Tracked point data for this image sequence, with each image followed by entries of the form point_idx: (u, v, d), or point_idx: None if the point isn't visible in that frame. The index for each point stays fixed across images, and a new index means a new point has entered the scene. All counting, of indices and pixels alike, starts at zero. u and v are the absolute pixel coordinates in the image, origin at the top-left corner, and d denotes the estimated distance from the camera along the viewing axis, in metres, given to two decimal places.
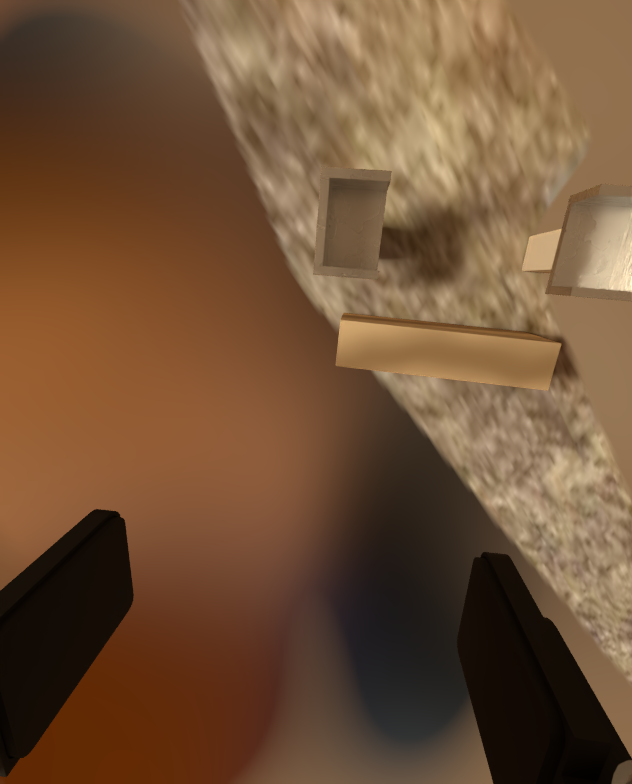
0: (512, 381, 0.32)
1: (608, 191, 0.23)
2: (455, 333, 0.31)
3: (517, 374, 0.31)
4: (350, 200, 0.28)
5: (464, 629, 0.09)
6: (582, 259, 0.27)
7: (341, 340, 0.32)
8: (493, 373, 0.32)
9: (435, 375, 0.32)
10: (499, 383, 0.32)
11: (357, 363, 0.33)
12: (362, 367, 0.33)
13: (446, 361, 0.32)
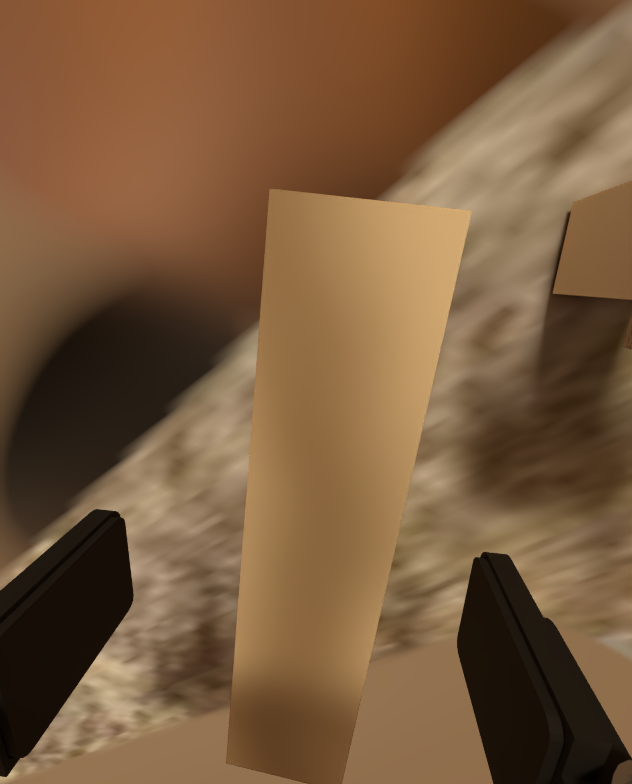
0: (242, 705, 0.12)
1: None
2: (380, 596, 0.10)
3: (260, 716, 0.12)
4: None
5: (464, 629, 0.09)
6: None
7: (378, 214, 0.07)
8: (261, 672, 0.12)
9: (249, 542, 0.10)
10: (235, 682, 0.12)
11: (280, 287, 0.08)
12: (267, 306, 0.08)
13: (293, 571, 0.10)
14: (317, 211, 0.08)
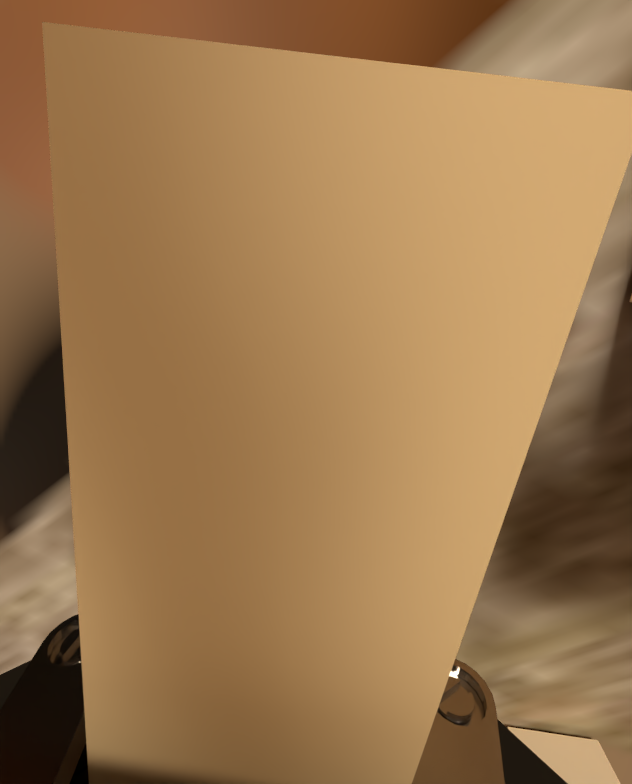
0: None
1: None
2: None
3: None
4: None
5: None
6: None
7: (364, 106, 0.02)
8: None
9: None
10: None
11: (106, 309, 0.03)
12: (77, 358, 0.03)
13: None
14: (184, 94, 0.03)
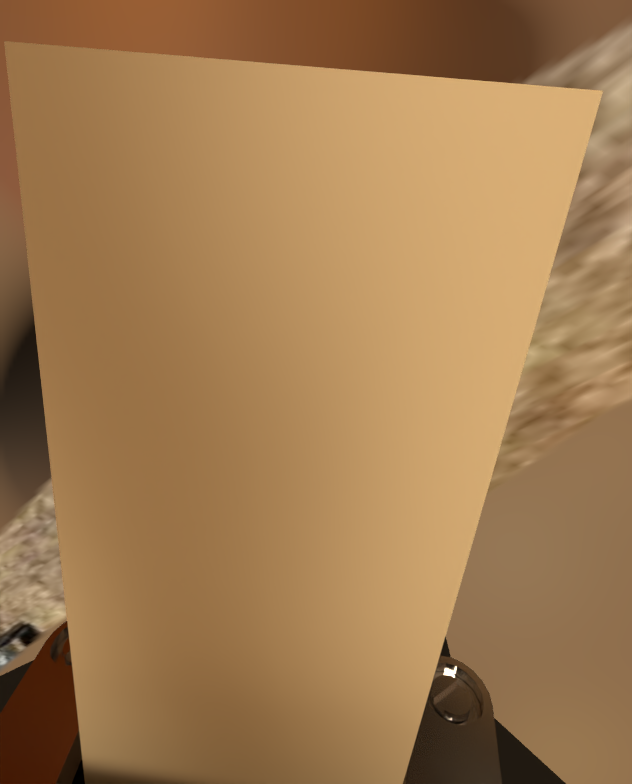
0: None
1: None
2: None
3: None
4: None
5: None
6: None
7: (318, 113, 0.03)
8: None
9: None
10: None
11: (77, 321, 0.03)
12: (55, 368, 0.03)
13: None
14: (145, 107, 0.03)
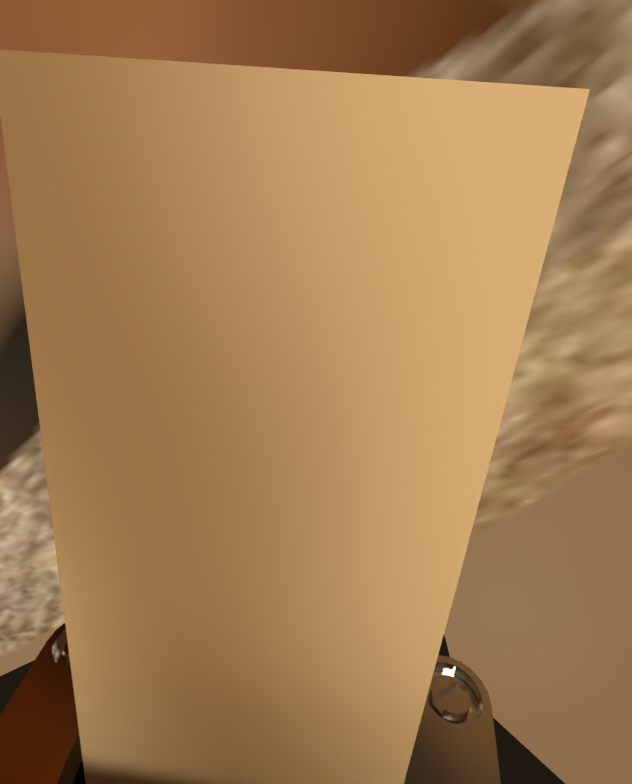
0: None
1: None
2: None
3: None
4: None
5: None
6: None
7: (307, 113, 0.03)
8: None
9: None
10: None
11: (71, 325, 0.03)
12: (48, 373, 0.03)
13: None
14: (133, 112, 0.03)
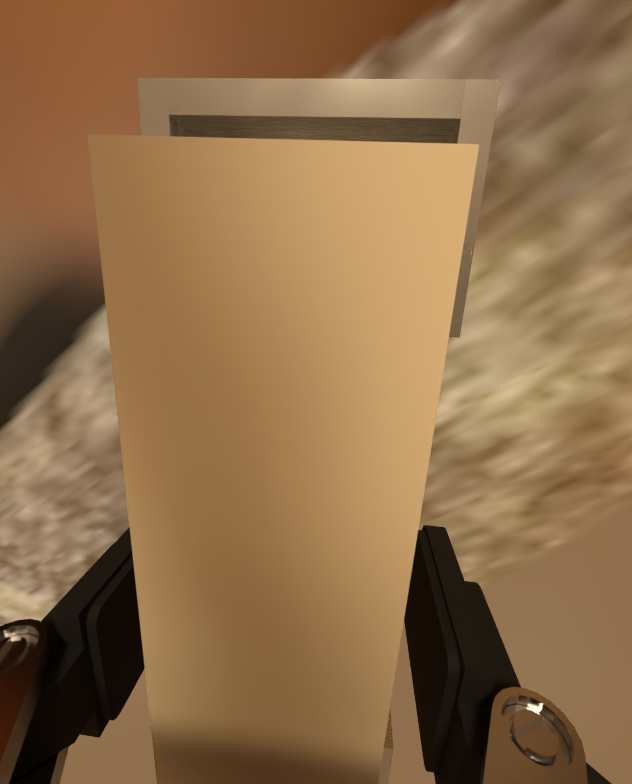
0: None
1: None
2: None
3: None
4: None
5: (408, 597, 0.10)
6: None
7: (298, 167, 0.04)
8: None
9: (158, 713, 0.06)
10: None
11: (138, 318, 0.04)
12: (122, 353, 0.05)
13: (233, 753, 0.07)
14: (182, 171, 0.04)
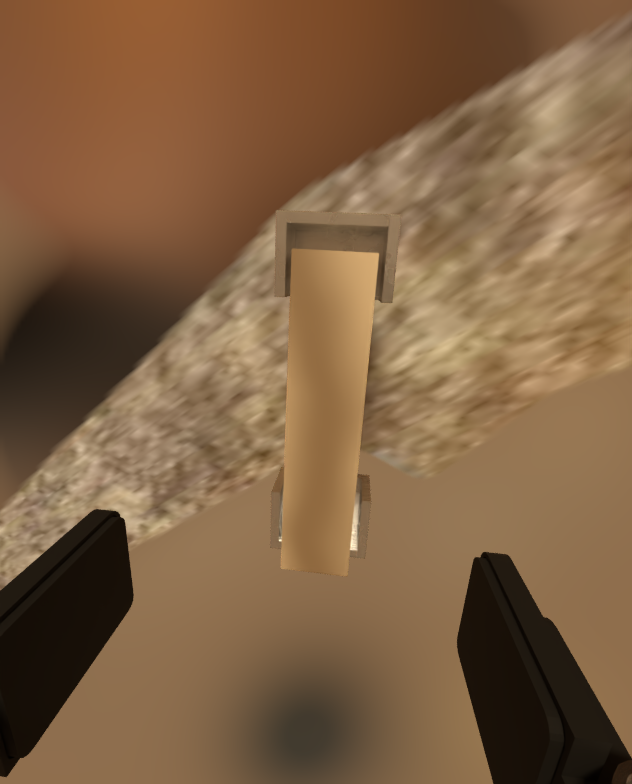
0: (288, 526, 0.21)
1: (364, 508, 0.25)
2: (358, 446, 0.20)
3: (299, 531, 0.22)
4: None
5: (464, 629, 0.09)
6: None
7: (340, 256, 0.17)
8: (298, 502, 0.21)
9: (288, 423, 0.20)
10: (284, 511, 0.21)
11: (298, 291, 0.18)
12: (292, 300, 0.18)
13: (312, 437, 0.20)
14: (313, 256, 0.17)
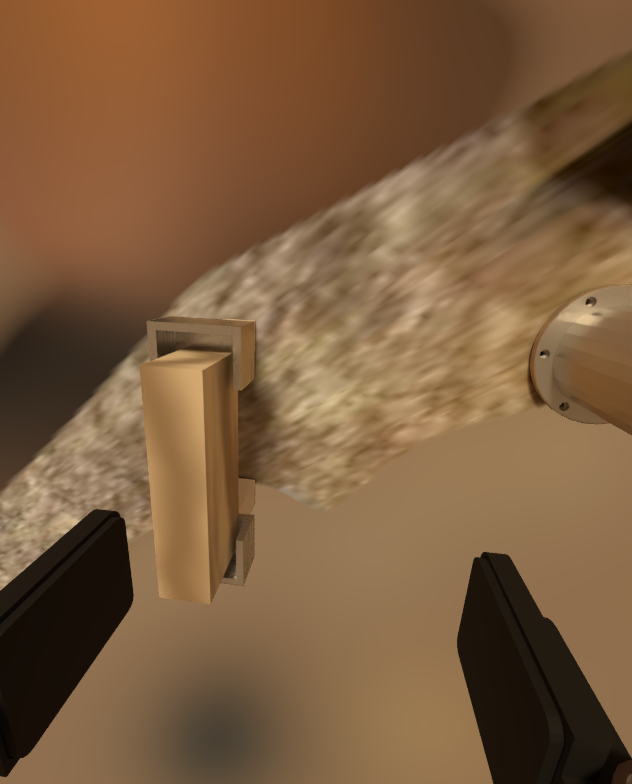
0: (161, 565, 0.27)
1: (238, 546, 0.31)
2: (205, 506, 0.25)
3: (170, 569, 0.27)
4: None
5: (464, 629, 0.09)
6: None
7: (174, 372, 0.23)
8: (166, 547, 0.27)
9: (152, 488, 0.26)
10: (157, 553, 0.27)
11: (148, 395, 0.24)
12: (144, 401, 0.24)
13: (171, 499, 0.26)
14: (155, 371, 0.23)
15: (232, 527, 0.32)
